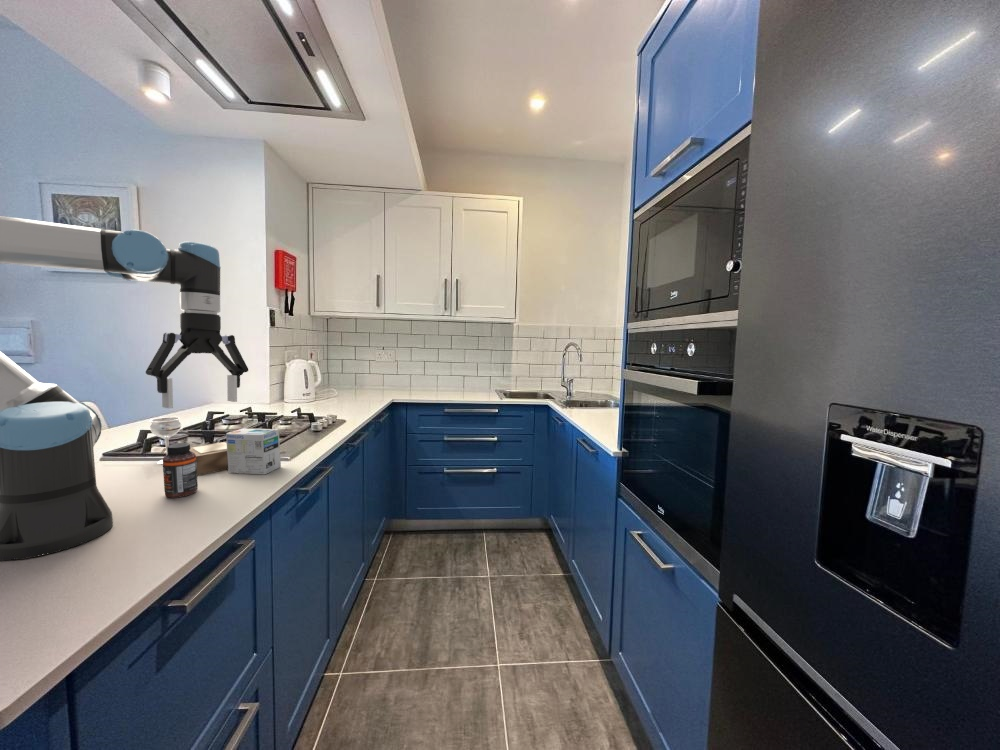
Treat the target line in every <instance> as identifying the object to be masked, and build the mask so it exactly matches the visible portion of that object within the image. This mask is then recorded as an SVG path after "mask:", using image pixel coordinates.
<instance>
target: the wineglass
mask: <svg viewBox="0 0 1000 750" xmlns="http://www.w3.org/2000/svg"><path fill="white" fill-rule="evenodd" d="M180 419H181V418H180V417H179V416H169V417H167V416H166V417H165V416H164V417H159V418H152V419H150V420H149V422H150V423H151V424H150V427H149V429H150V432H151V433H152V435H155V437H158V438H161V439H163V440H164V442H165V443H164V444H165V452H166V455H167V454H168V452H167V447H168V446H169V445H170V443H169V440H170V438H171V437H173V436H175V435H177V434H178V432H180V431H181V428H182V424H181V422H180ZM156 463H157V464H162V465H163V459H161V460H159V461H157V462H156Z"/></svg>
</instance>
